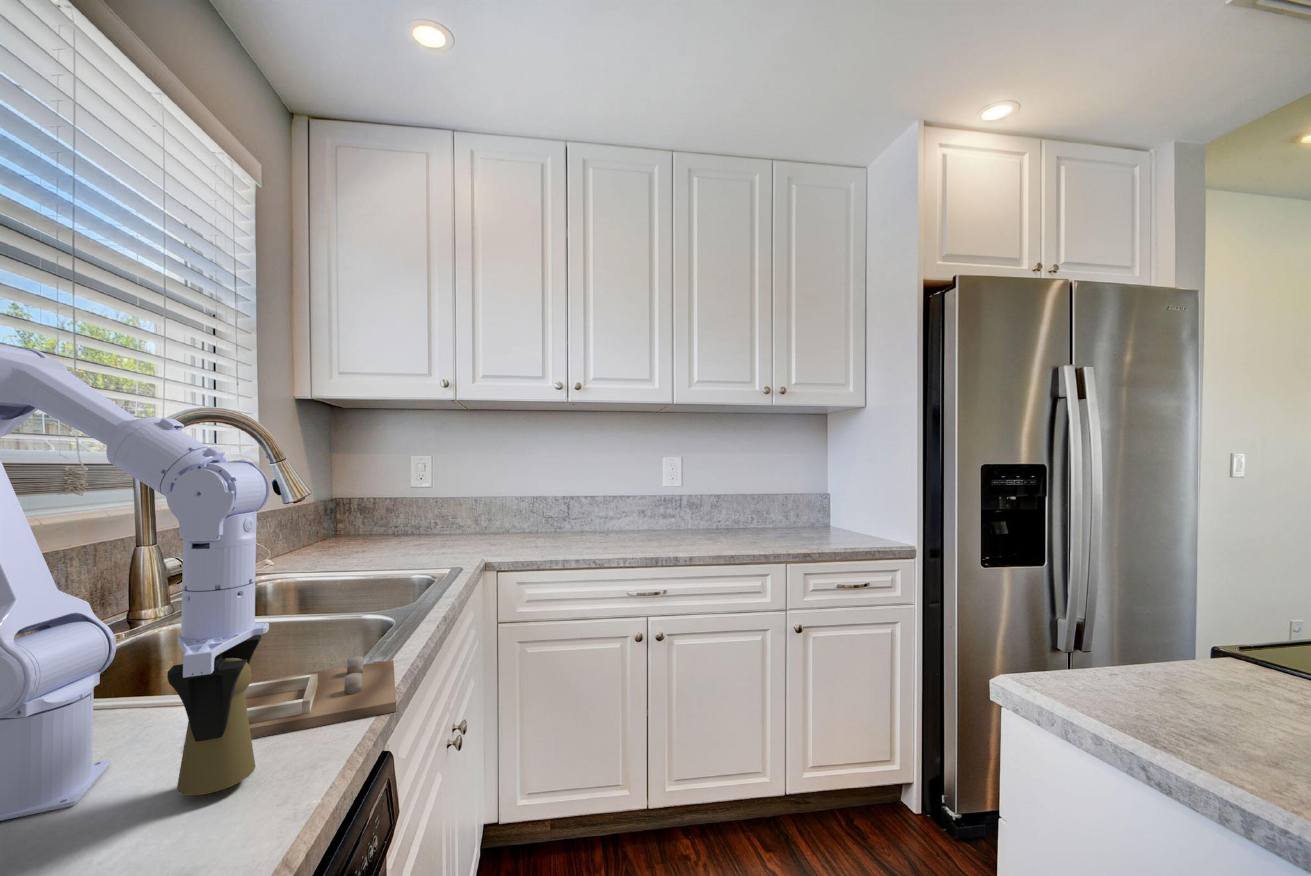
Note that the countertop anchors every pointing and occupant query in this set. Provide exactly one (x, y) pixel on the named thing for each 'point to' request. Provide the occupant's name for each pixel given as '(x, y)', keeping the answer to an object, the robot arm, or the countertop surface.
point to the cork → (220, 749)
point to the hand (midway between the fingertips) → (217, 725)
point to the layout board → (320, 697)
